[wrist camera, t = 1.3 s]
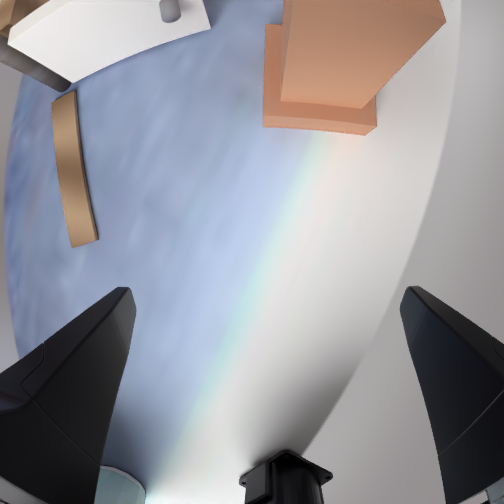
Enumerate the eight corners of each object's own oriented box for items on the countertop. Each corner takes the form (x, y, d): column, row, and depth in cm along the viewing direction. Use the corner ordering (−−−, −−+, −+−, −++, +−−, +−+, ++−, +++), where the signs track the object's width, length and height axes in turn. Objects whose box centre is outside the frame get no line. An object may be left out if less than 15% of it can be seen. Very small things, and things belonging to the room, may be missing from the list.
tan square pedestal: (364, 135, 19) (475, 54, 6) (263, 127, 19) (260, 8, 6) (359, 51, 18) (428, -63, 5) (265, 41, 18) (263, -95, 5)
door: (73, 97, 19) (5, 61, 10) (72, 69, 19) (10, 28, 10) (214, 42, 18) (190, -34, 10) (207, 15, 18) (183, -59, 9)
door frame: (55, 30, 18) (-5, -14, 8) (75, 19, 18) (18, -32, 8) (74, 247, 21) (-21, 269, 11) (98, 239, 21) (2, 259, 11)
